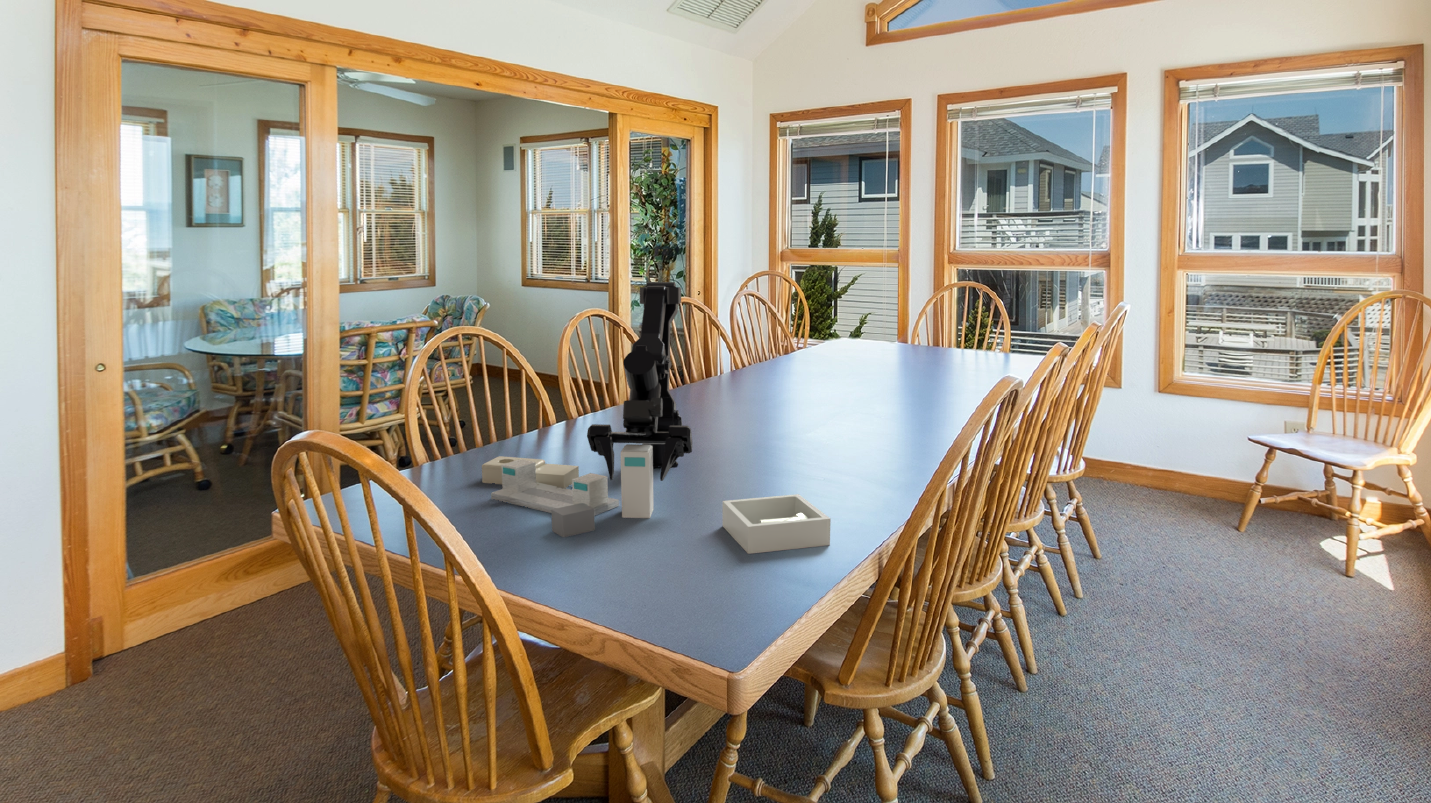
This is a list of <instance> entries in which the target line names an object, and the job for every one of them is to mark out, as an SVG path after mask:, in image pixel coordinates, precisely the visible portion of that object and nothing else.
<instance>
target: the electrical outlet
mask: <svg viewBox="0 0 1431 803" xmlns="http://www.w3.org/2000/svg"><path fill="white" fill-rule="evenodd" d="M519 459H522V460H527V461H532V462H535V464H536V482H538V483H543V484H547V485H552V486H557V487H561V488H566V489H568V486H569V485H570V486H572V479H575V478H578V477H580V474H579V468H580V466H579V465H569V464H559V463H558V464H556V463H546V460H545V459H542V458H541V459H540V458H527V457H526V458H525V457H515V456H502V455H499V456H497V457H495V458H493V459H490V460H489V461H487V462H485V463H483V464H482V465H481V475H482V476H481V479H482V480H481V481H482V482H481V483H484V484H492V483H495V484H494V485H502V468H501V465H502V464H506V463H509V462H513V461H516V460H519ZM570 486H569V487H570Z"/></svg>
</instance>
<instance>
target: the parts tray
mask: <svg viewBox="0 0 1431 803" xmlns="http://www.w3.org/2000/svg"><path fill="white" fill-rule="evenodd" d="M799 513H802V514H804V515H805V516H806V517H808V519H800V520H790V521H780V522H770V523H760V520H764V519H777V518H790V517H793V516H794V515H796V514H799ZM831 519H832V518H831V517H829V516H828V515H827V514H825V513H824V512H822V510H820V509H819V508H818V507H816V506H815V505H813V504H812V503H811V502H809V500H807V499H805V497H803V496H802V495H800V494H798V493H797V494H785V495H775V496H773V495H772V496H766V497H765V496H763V497H751V498H742V499H741V498H740V499H739V498H738V499H728V500H722V527H723V528H724V529H725V531H726V532H728V534H729V535H730V536H731V537H732V538H733V539H734V540H735V542H737V543H738V544H739V546H740V547H741V548H742V549H743V550H744V551H745V552H746V553H747V554H748V555H750V554H758V553H759V554H760V553H767V552H777V551H778V552H779V551H789V550H797V549H806V548H815V547H823V546H830V545H831V523H832V522H831Z"/></svg>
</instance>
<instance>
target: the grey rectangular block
mask: <svg viewBox="0 0 1431 803" xmlns="http://www.w3.org/2000/svg"><path fill="white" fill-rule="evenodd" d="M551 512H552V513H551V530H552V532H553V533H554V534H557V535H558V536H560V537H561V538H568V537H572V536H577V535H581V534H584V533H589V532H593V531H596V525H595V524H596V523H595V518H596V517H595V516H594V508H592V507H590V506H588V505H586V504H584V503H580V504H575V505H570V506H565V507H561V508H556V509H551Z"/></svg>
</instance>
